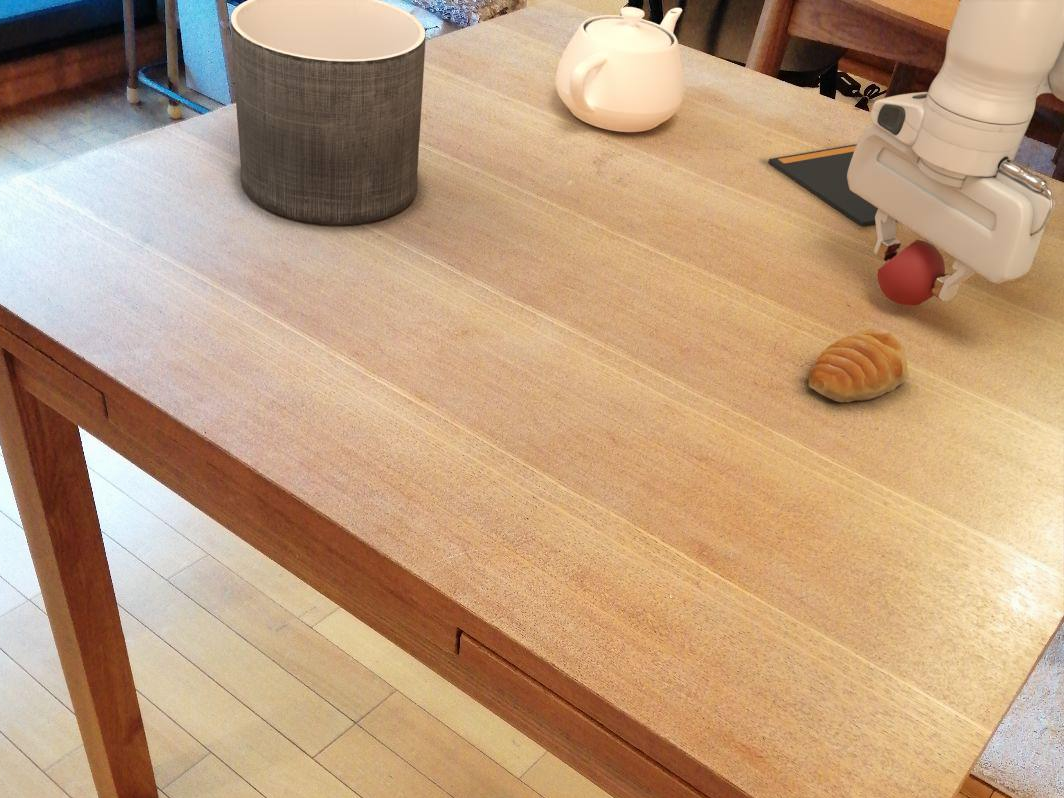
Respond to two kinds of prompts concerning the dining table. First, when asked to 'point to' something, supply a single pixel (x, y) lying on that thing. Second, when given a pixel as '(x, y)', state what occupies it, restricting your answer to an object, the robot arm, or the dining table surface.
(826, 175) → the corner mat
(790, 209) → the dining table surface
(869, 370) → the pastry
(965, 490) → the dining table surface
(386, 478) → the dining table surface
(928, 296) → the fruit
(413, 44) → the planter
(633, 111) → the teapot
